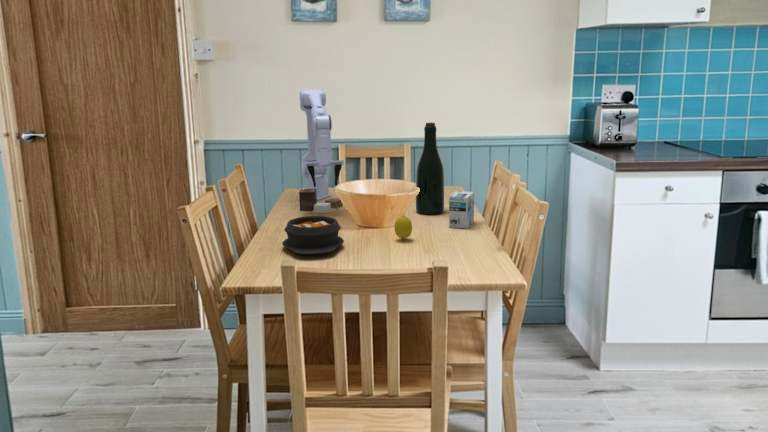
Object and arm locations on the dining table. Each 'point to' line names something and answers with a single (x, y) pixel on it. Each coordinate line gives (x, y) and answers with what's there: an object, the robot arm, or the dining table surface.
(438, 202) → the wine bottle
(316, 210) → the grey block
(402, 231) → the lemon
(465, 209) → the light bulb box
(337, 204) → the walnut block
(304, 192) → the box
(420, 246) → the dining table surface
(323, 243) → the casserole
